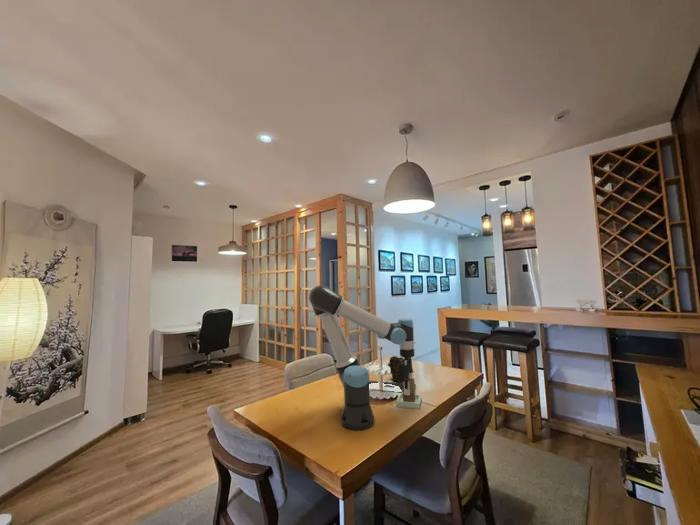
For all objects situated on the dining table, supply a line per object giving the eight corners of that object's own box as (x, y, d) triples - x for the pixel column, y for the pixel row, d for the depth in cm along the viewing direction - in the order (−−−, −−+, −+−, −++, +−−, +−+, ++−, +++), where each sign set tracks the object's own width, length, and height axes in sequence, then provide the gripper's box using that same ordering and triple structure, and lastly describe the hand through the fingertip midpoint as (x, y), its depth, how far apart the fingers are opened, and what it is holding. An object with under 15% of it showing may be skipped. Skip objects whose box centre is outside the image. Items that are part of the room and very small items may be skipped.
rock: (387, 380, 183) (388, 356, 186) (395, 379, 189) (396, 355, 192) (403, 384, 174) (404, 358, 177) (411, 382, 180) (412, 357, 184)
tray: (419, 409, 140) (419, 403, 140) (396, 406, 143) (396, 401, 144) (421, 400, 151) (421, 394, 151) (399, 397, 154) (399, 392, 155)
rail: (413, 394, 159) (413, 390, 159) (362, 389, 169) (362, 385, 169) (415, 387, 168) (415, 384, 169) (367, 383, 178) (366, 380, 178)
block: (414, 404, 144) (413, 382, 144) (403, 403, 145) (402, 381, 146) (415, 400, 149) (414, 379, 150) (404, 399, 151) (403, 378, 151)
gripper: (411, 354, 136) (413, 400, 135) (416, 343, 160) (418, 382, 158) (395, 353, 139) (397, 398, 137) (403, 343, 162) (404, 381, 161)
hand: (408, 389), depth 148 cm, fingers open, 13 cm apart
